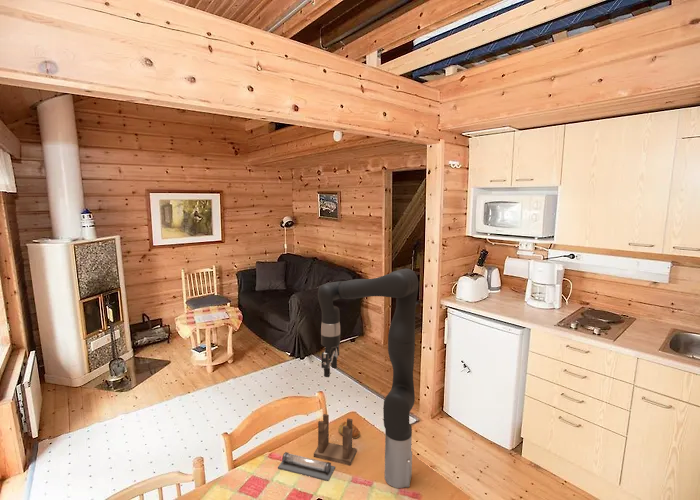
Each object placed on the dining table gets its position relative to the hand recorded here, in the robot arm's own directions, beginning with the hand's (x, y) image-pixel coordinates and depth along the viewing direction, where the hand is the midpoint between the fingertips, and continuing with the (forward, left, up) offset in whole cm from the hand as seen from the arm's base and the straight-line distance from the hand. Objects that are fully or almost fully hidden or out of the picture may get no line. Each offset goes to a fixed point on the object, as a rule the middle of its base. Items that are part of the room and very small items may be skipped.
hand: (330, 372), depth 141 cm
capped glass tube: (+4, +15, -29) cm, 33 cm away
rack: (-4, +5, -31) cm, 32 cm away
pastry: (-4, -10, -32) cm, 33 cm away
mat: (+4, +15, -31) cm, 35 cm away
